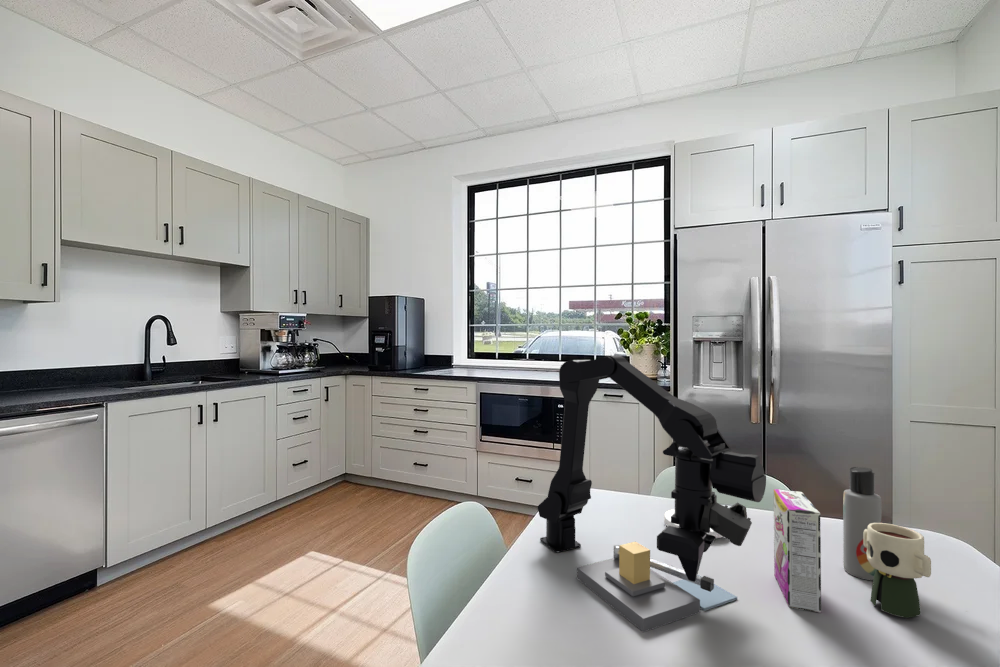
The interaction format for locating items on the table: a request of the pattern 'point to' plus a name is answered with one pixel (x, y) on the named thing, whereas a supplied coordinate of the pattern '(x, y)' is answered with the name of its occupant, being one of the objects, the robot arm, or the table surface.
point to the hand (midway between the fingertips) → (692, 580)
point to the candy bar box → (797, 550)
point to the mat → (707, 594)
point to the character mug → (896, 567)
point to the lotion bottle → (859, 521)
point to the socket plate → (639, 597)
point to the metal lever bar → (675, 572)
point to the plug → (634, 570)
